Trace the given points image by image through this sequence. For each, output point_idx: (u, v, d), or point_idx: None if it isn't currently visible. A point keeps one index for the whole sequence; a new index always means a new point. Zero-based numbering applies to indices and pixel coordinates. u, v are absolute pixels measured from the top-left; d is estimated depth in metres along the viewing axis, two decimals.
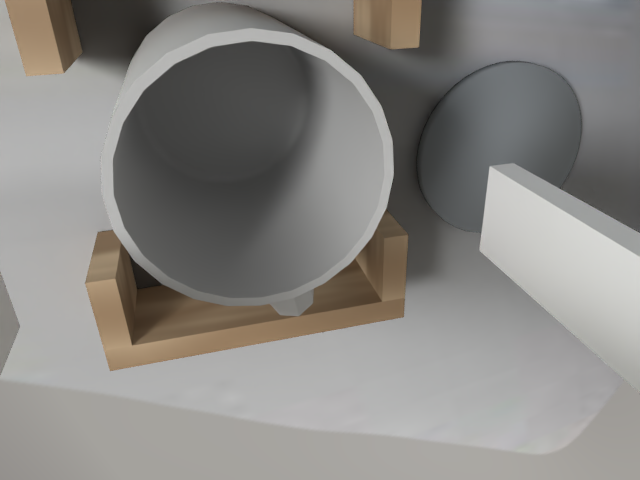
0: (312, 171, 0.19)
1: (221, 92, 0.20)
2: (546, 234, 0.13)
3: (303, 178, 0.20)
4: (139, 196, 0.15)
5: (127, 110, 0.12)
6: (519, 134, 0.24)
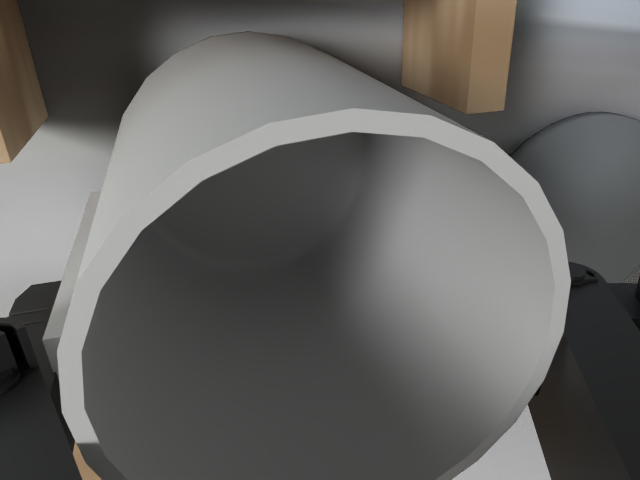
0: (379, 268, 0.14)
1: None
2: None
3: (366, 276, 0.14)
4: (134, 344, 0.10)
5: (108, 268, 0.06)
6: (599, 200, 0.19)
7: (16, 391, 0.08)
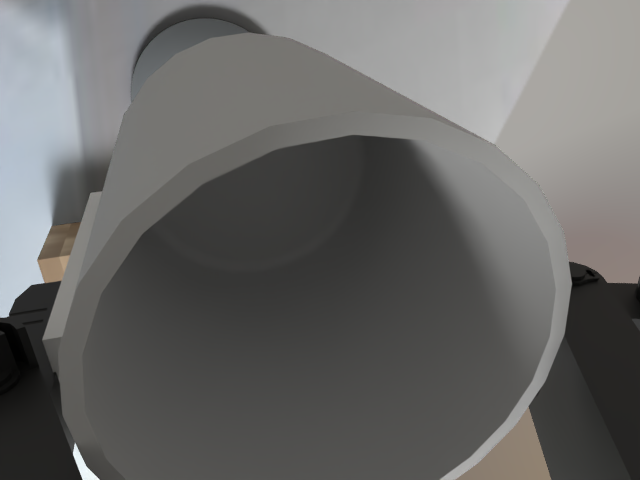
0: (380, 269, 0.14)
1: None
2: None
3: (366, 278, 0.14)
4: (134, 346, 0.10)
5: (109, 271, 0.06)
6: None
7: (16, 391, 0.08)
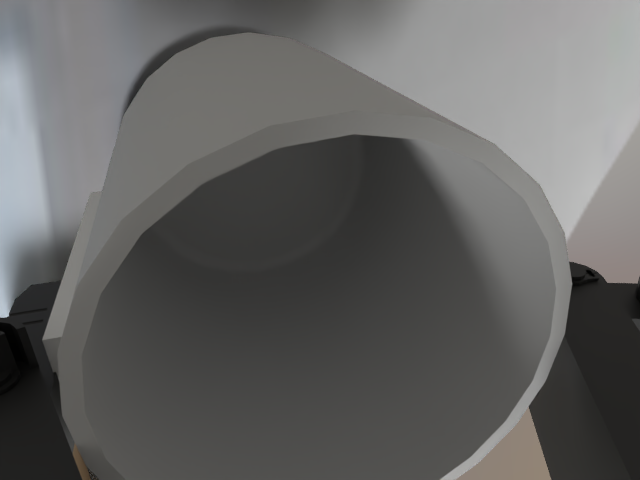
0: (380, 269, 0.14)
1: None
2: None
3: (366, 278, 0.14)
4: (134, 346, 0.10)
5: (109, 271, 0.06)
6: None
7: (16, 391, 0.08)
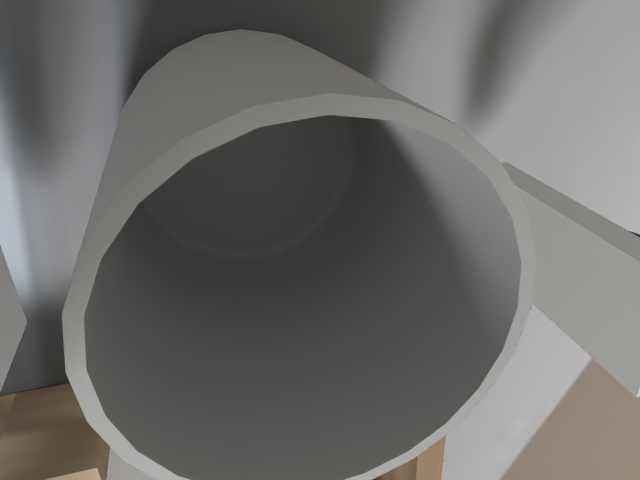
0: (367, 255, 0.14)
1: (243, 145, 0.15)
2: (538, 233, 0.13)
3: (354, 263, 0.15)
4: (132, 322, 0.10)
5: (108, 238, 0.07)
6: None
7: None
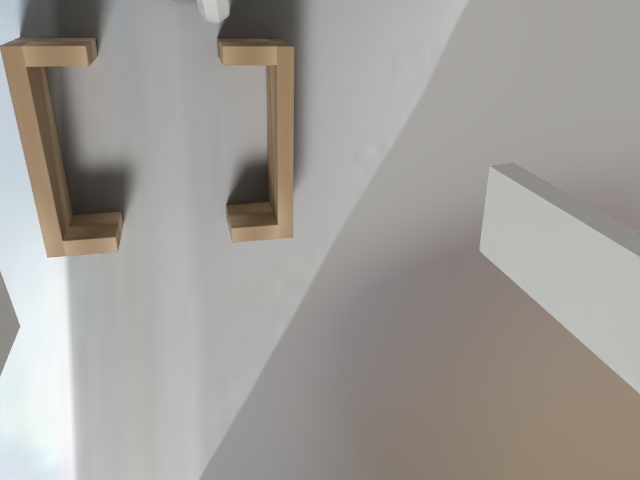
0: None
1: None
2: (546, 235, 0.13)
3: None
4: None
5: None
6: None
7: None
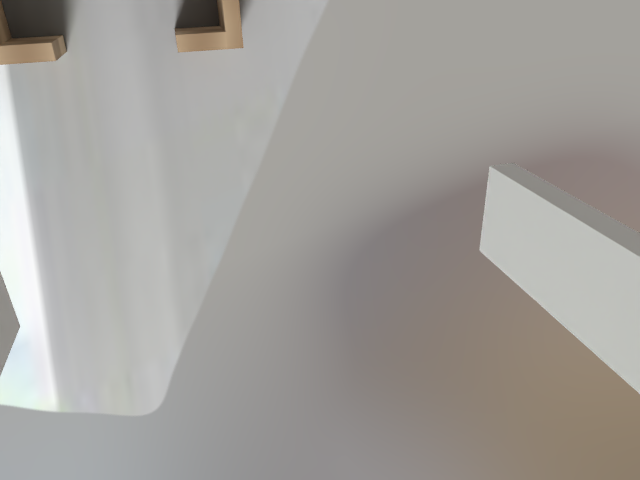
0: None
1: None
2: (546, 234, 0.13)
3: None
4: None
5: None
6: None
7: None
